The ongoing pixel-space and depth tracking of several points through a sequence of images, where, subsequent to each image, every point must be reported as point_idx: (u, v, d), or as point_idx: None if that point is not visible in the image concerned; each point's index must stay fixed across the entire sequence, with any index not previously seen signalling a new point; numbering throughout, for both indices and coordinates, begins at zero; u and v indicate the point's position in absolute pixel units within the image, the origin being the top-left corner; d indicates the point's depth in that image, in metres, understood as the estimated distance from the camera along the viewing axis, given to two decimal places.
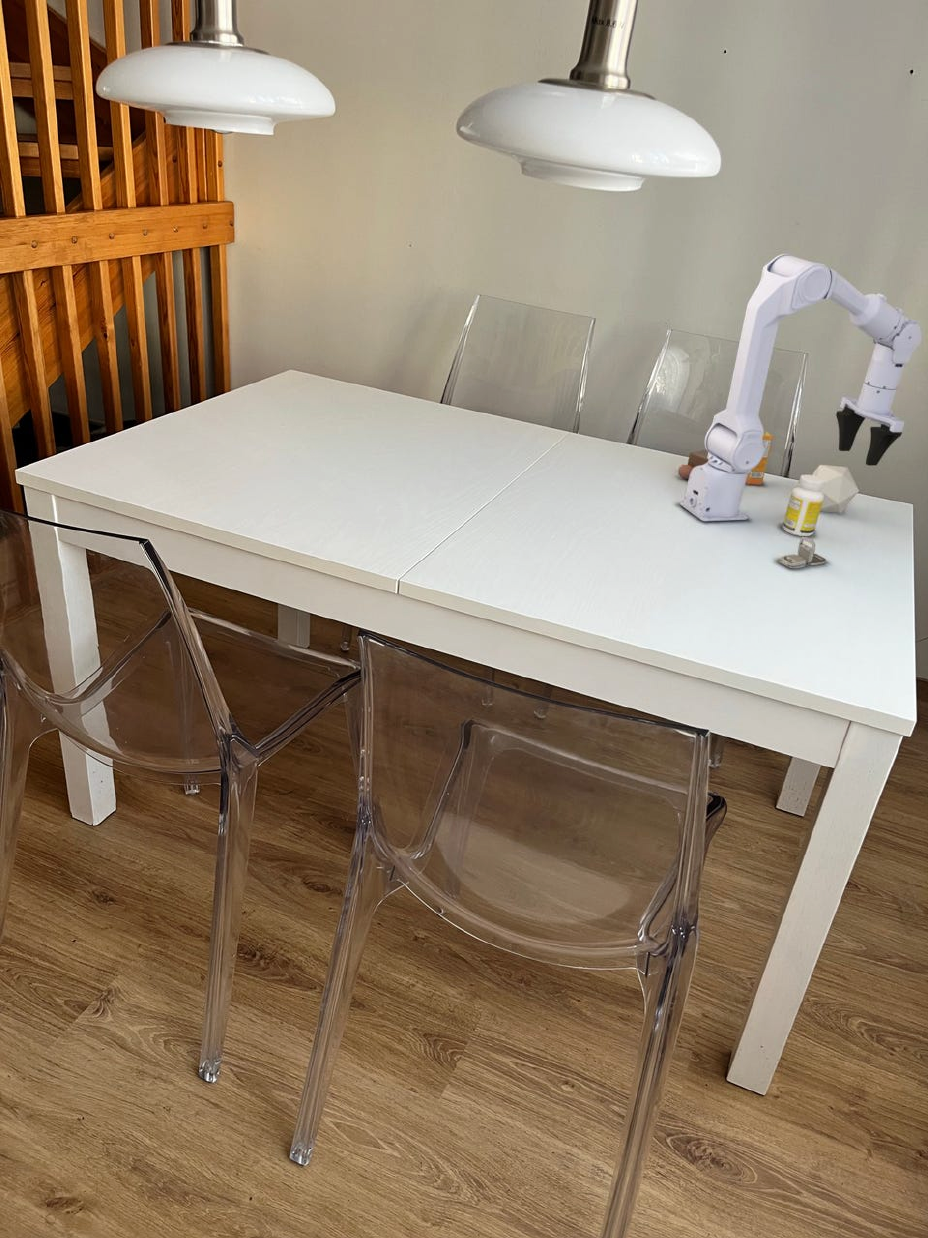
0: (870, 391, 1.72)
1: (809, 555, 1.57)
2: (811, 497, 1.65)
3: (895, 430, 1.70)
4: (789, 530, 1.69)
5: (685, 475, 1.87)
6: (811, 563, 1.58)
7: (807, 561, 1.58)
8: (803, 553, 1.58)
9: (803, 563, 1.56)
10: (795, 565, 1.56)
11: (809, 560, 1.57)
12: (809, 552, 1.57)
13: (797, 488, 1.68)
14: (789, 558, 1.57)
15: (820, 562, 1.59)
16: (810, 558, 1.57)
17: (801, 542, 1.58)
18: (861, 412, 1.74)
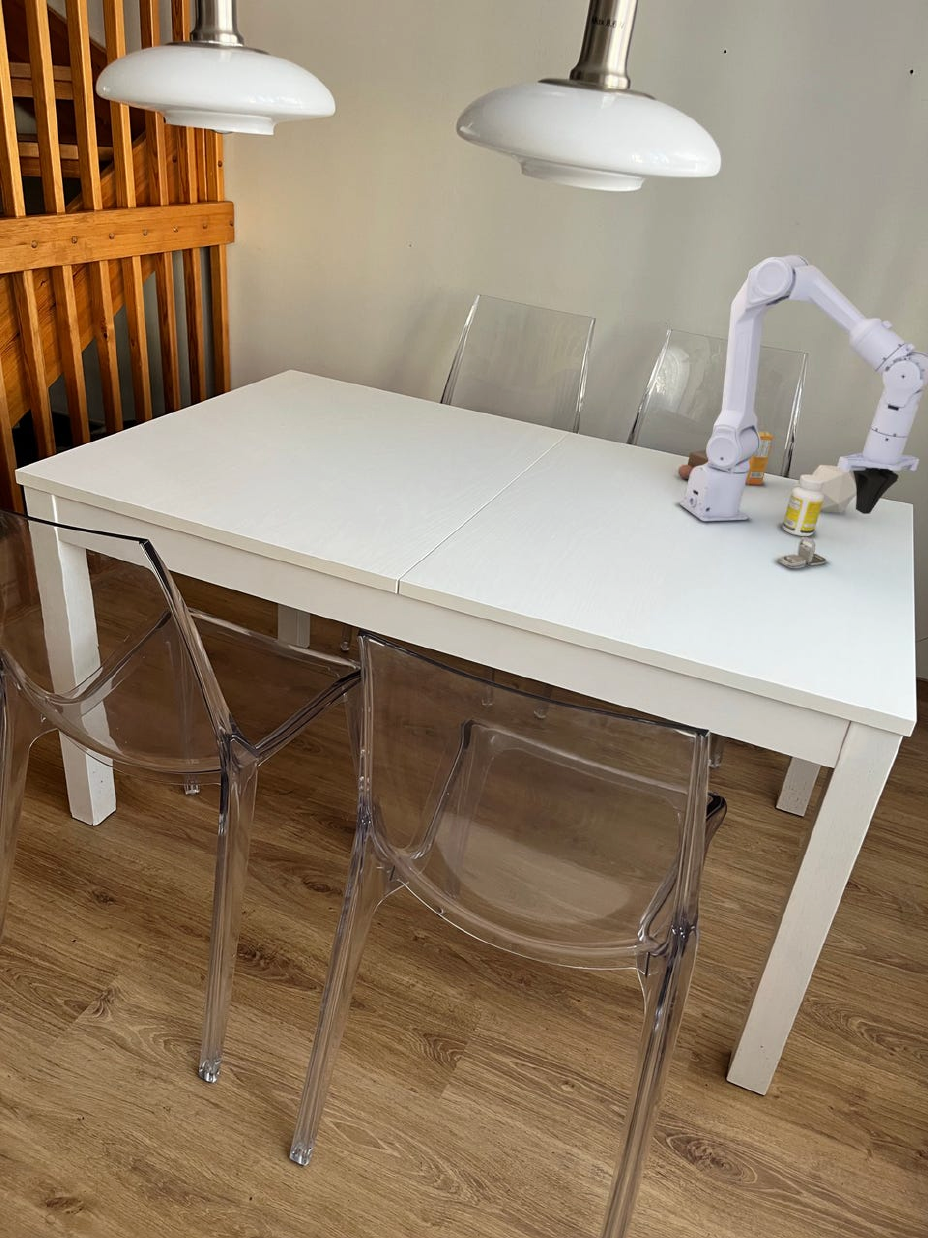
0: None
1: (809, 555, 1.57)
2: (811, 497, 1.65)
3: (838, 466, 1.53)
4: (789, 530, 1.69)
5: (685, 475, 1.87)
6: (811, 563, 1.58)
7: (807, 561, 1.58)
8: (803, 553, 1.58)
9: (803, 563, 1.56)
10: (795, 565, 1.56)
11: (809, 560, 1.57)
12: (809, 552, 1.57)
13: (797, 488, 1.68)
14: (789, 558, 1.57)
15: (820, 562, 1.59)
16: (810, 558, 1.57)
17: (801, 542, 1.58)
18: None
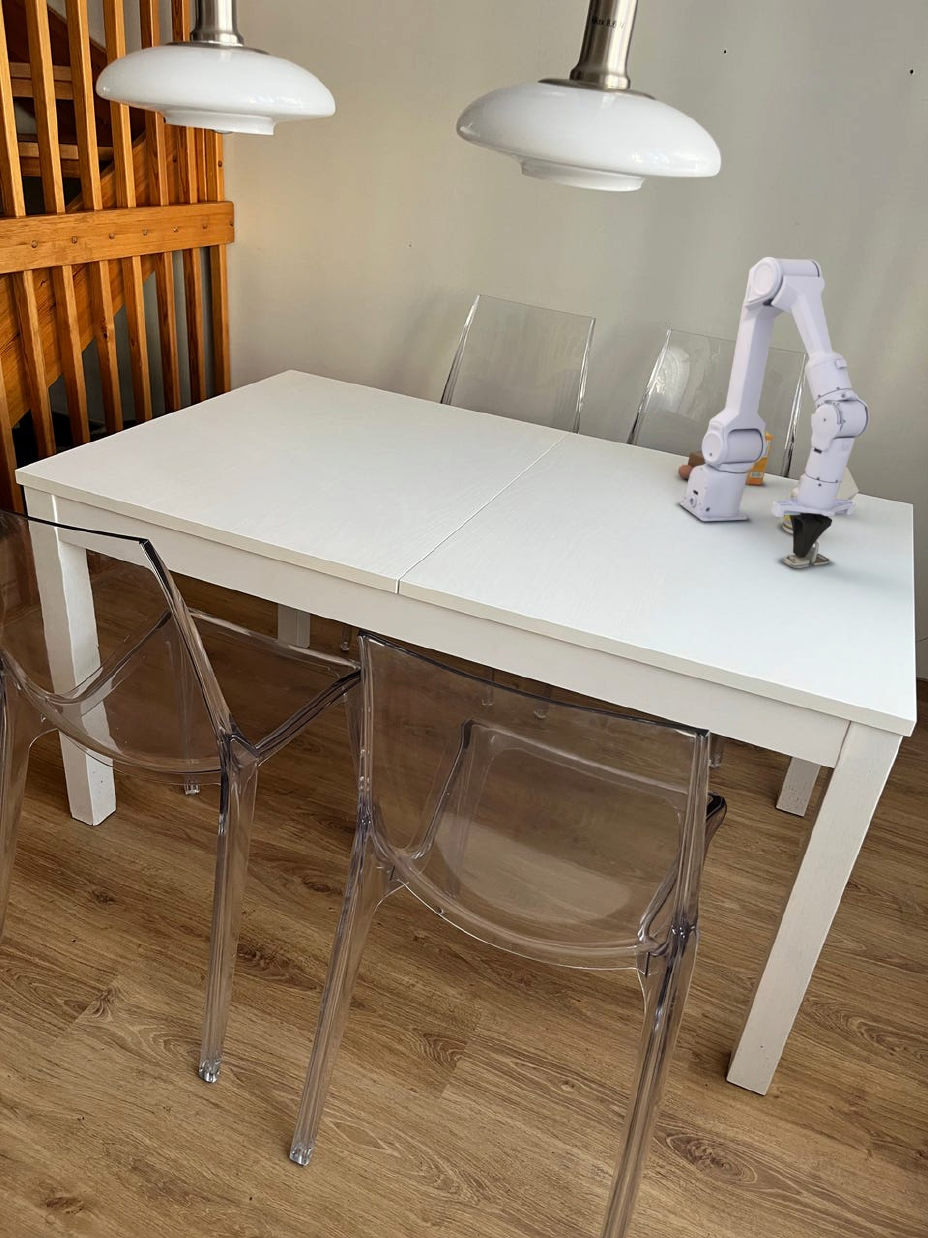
0: None
1: (812, 554, 1.57)
2: None
3: (772, 511, 1.52)
4: (789, 530, 1.69)
5: (685, 475, 1.87)
6: (814, 563, 1.58)
7: (810, 561, 1.58)
8: None
9: (806, 563, 1.57)
10: (798, 565, 1.56)
11: (812, 560, 1.57)
12: (813, 552, 1.57)
13: (797, 488, 1.68)
14: (792, 558, 1.57)
15: (824, 562, 1.59)
16: (813, 558, 1.57)
17: None
18: None
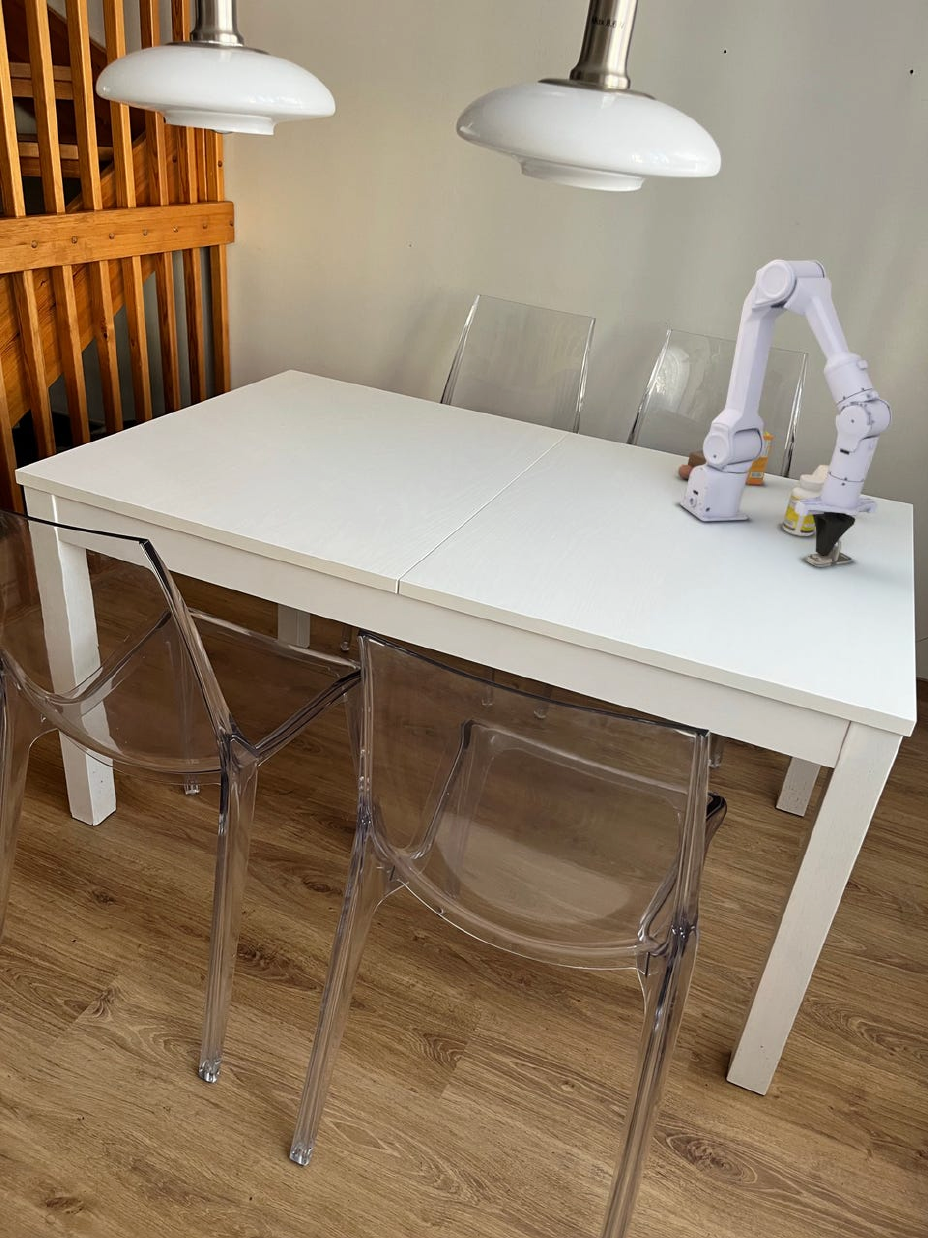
0: None
1: (835, 553, 1.58)
2: (811, 497, 1.65)
3: (796, 510, 1.53)
4: (789, 530, 1.69)
5: (685, 475, 1.87)
6: (837, 562, 1.60)
7: (833, 560, 1.59)
8: None
9: (829, 562, 1.58)
10: (821, 563, 1.57)
11: (835, 559, 1.59)
12: (835, 551, 1.58)
13: (797, 488, 1.68)
14: (815, 556, 1.59)
15: (846, 561, 1.60)
16: (836, 557, 1.59)
17: None
18: None
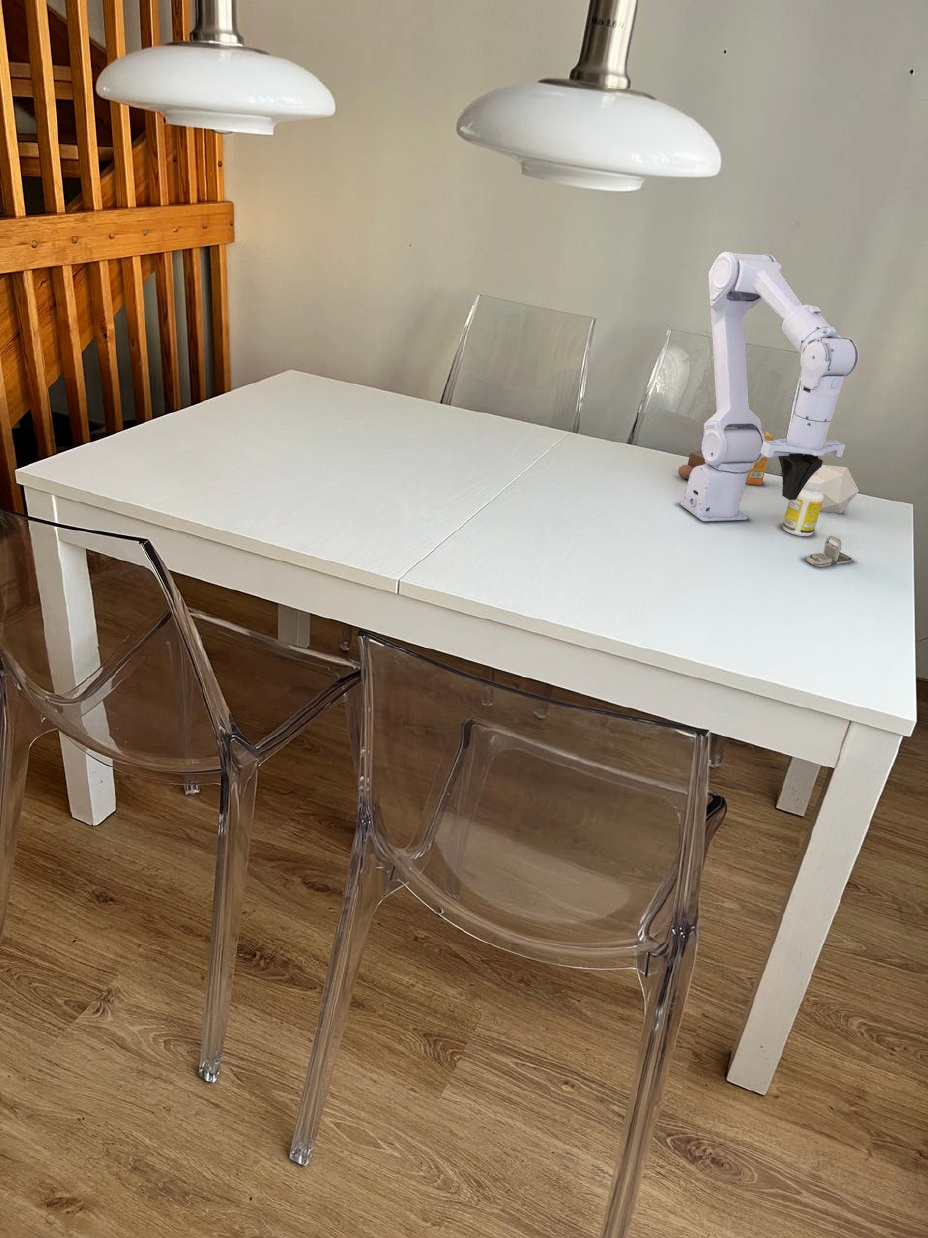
0: None
1: (835, 553, 1.59)
2: (811, 497, 1.65)
3: (762, 451, 1.52)
4: (789, 530, 1.69)
5: (685, 475, 1.87)
6: (837, 562, 1.60)
7: (833, 560, 1.59)
8: (829, 552, 1.60)
9: (829, 562, 1.58)
10: (821, 563, 1.57)
11: (835, 559, 1.59)
12: (835, 551, 1.58)
13: None
14: (815, 556, 1.59)
15: (846, 561, 1.60)
16: (836, 557, 1.59)
17: (827, 541, 1.60)
18: None
